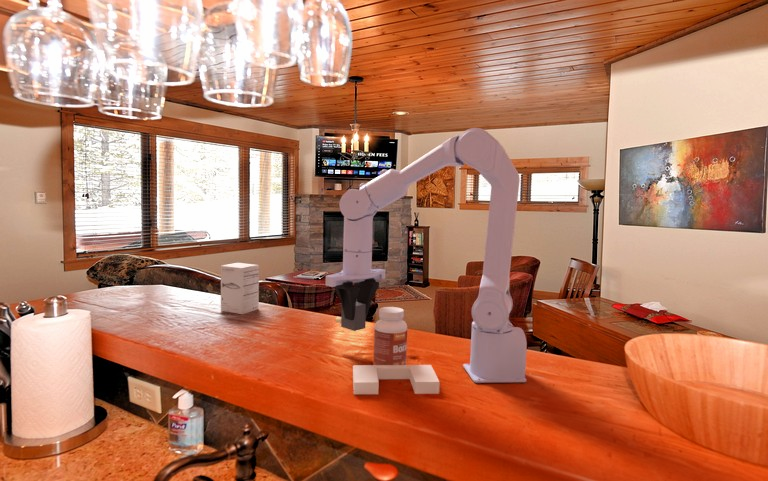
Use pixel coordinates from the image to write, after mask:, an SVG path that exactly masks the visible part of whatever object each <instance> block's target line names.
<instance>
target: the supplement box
mask: <svg viewBox="0 0 768 481" xmlns="http://www.w3.org/2000/svg"><path fill="white" fill-rule="evenodd" d="M259 289H260V265H259V264H253V263H243V262H234V263H229V264H221V265H220V312H224V313H225V312H227V313H232V314H238V315H245V314H248V313H251V312H254V311H257V310H259V299H260V298H259V297H260V296H259V295H260V290H259Z"/></svg>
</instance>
